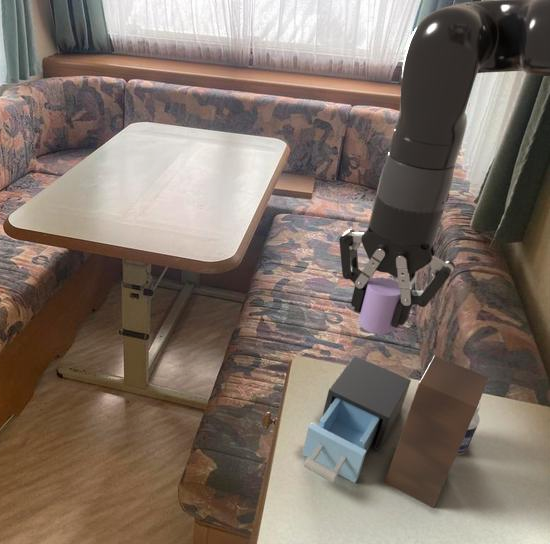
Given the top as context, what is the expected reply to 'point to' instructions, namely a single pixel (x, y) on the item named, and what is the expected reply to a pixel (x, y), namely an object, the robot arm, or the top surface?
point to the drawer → (340, 441)
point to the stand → (435, 429)
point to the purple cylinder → (379, 305)
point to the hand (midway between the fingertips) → (377, 316)
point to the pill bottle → (469, 432)
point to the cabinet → (371, 392)
